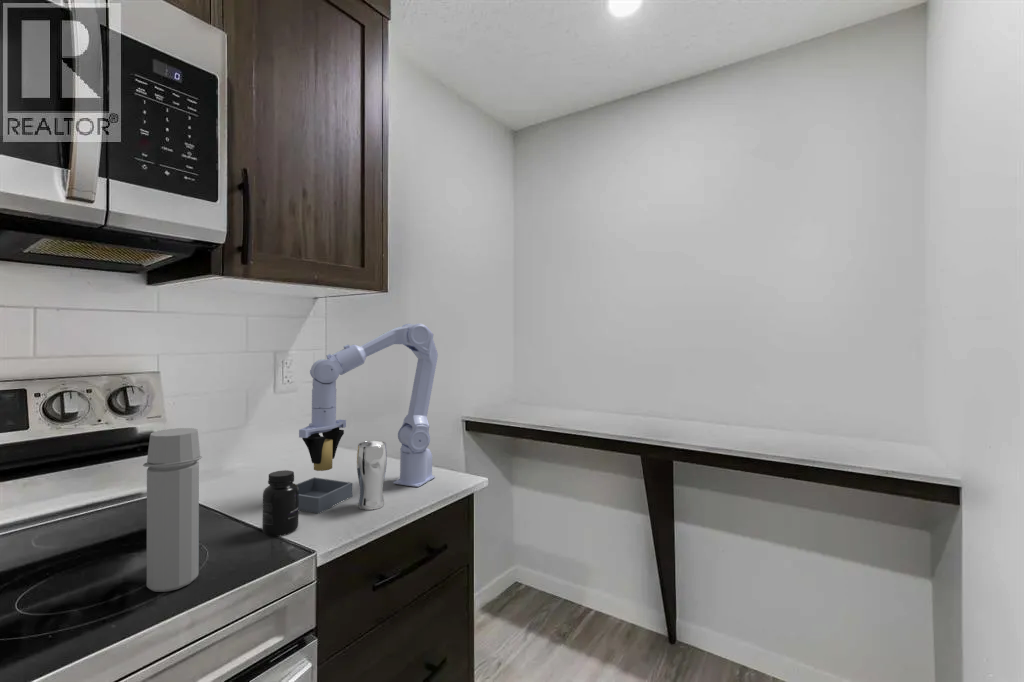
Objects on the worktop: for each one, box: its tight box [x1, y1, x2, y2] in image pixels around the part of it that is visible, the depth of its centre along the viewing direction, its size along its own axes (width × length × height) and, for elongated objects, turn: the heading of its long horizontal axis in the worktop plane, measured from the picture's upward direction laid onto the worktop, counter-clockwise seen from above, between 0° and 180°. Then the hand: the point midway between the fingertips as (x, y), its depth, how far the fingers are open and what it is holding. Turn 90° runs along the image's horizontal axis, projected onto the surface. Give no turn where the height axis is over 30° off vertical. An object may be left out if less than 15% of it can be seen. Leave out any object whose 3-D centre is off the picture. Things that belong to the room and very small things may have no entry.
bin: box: [295, 477, 353, 514], centre depth 116 cm, size 12×12×4 cm
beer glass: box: [356, 439, 388, 511], centre depth 114 cm, size 7×7×15 cm
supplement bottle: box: [261, 469, 300, 537], centre depth 99 cm, size 7×7×12 cm
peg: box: [313, 439, 334, 472], centre depth 120 cm, size 4×4×7 cm
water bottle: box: [142, 427, 203, 593], centre depth 79 cm, size 9×8×25 cm
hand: (323, 460), depth 120 cm, fingers closed on peg, 4 cm apart
